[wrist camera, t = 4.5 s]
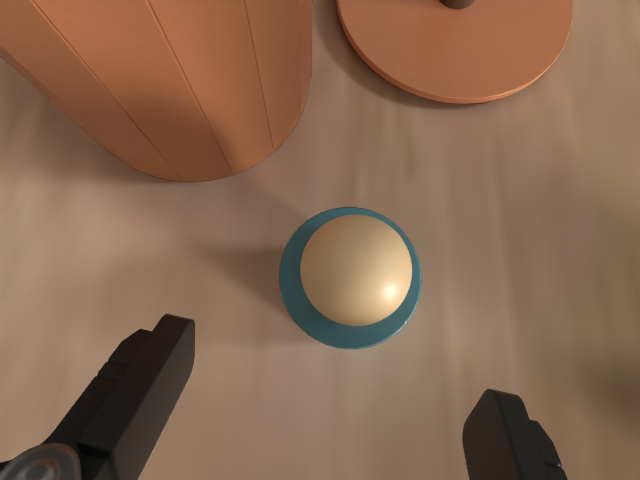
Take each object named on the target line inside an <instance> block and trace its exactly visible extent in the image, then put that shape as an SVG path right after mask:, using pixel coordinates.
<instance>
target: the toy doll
mask: <svg viewBox="0 0 640 480" xmlns="http://www.w3.org/2000/svg"><path fill="white" fill-rule="evenodd" d="M279 283H280V290H281V295H282V298H283V301H284V304H285V306H286V308H287V310H288V312H289V314H290V315H291V317H292V318H293V320H294V321H295V322H296V324H297V325H298V326H299V327H300V328H301V329H302V330H303V331H304V332H306V333H307V334H308V335H309V336H311V337H312V338H314V339H316V340H317V341H319V342H321V343H324V344H326V345H329V346H332V347H335V348H342V349H362V348H368V347H372V346H375V345H377V344H380V343H382V342H384V341H386V340H388V339H389V338H391V337H392V336H394V335H395V334H396V333H397V332H399V331H400V330H401V329H402V328H403V327H404V326H405V324H406V323H407V322H408V320H409V319H410V318H411V316H412V314H413V312H414V310H415V308H416V306H417V303H418V300H419V296H420V292H421V283H422V279H421V268H420V263H419V259H418V256H417V253H416V251H415V249H414V247H413V245H412V243H411V242H410V240H409V238H408V237H407V236H406V234H405V233H404V232H403V231H402V230H401V229H400V228H399V227H398V226H397V225H396V224H395V223H393V222H392V221H391V220H389V219H388V218H386V217H384V216H383V215H381V214H378V213H376V212H374V211H371V210H367V209H363V208H357V207H342V208H335V209H331V210H327V211H324V212H322V213H319V214H318V215H316V216H314V217H312V218H311V219H309V220H308V221H306V222H305V223H304V224H303V225H302V226H300V227H299V228H298V229H297V231H296V232H295V233H294V234H293V236H292V237H291V239H290V240H289V242H288V243H287V246H286V248H285V250H284V252H283V256H282V259H281V263H280V270H279Z"/></svg>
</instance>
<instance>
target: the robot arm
mask: <svg viewBox="0 0 640 480" xmlns="http://www.w3.org/2000/svg"><path fill="white" fill-rule="evenodd" d="M194 357H195V322H194V320H192V319H187V318H183V317H179V316H174V315H170V314H165V315H164V316H163V317H162V318H161V319H160V321H159V322H158V324H157V325H156V327H155V328H154V329H153V331H152V332H151V331H147V330H143V329H139V330H138V331H136V332H135V333H133V334H132V335H131V336H129V337H128V338H126V339H125V340H123V341H122V342H121V343H120V344H119V346H118V347H117V348H116V350H115V351H114V352H113V354H112V355H111V356H110V358H109V360H108V362H106V363H105V364H104V365H103V367H102V368H101V369H100V371H99V372H98V375H97V376H96V377H94V379H93V380H92V381H91V383H90V384H89V385H88V387H87V388H86V389H85V391H84V392H83V393H82V395H81V396H80V397H79V398H78V400H77V401H76V402H75V404H74V405H73V406H72V408H71V409H70V410H69V412H68V413H67V414H66V416H65V417H64V418H63V420H62V421H61V422H60V424H59V425H58V426H57V428H56V429H55V430H54V431H53V433H52V434H51V435H50V436H49V437H48V438H47V439H46V440H45V441H44V442H43V443H41V444H40V445H38V446H35V447H33V448H30V449H28V450H26V451H25V452H23V453H21V454H20V455H18V456H17V457H15V458H14V459H13V460H9V461H6V462H1V463H0V480H138V478H139V476H140V474H141V472H142V470H143V468H144V466H145V464H146V462H147V460H148V458H149V456H150V454H151V452H152V450H153V448H154V446H155V444H156V442H157V440H158V438H159V436H160V434H161V432H162V430H163V428H164V426H165V424H166V422H167V420H168V418H169V416H170V414H171V412H172V410H173V408H174V407H175V405H176V403H177V401H178V399H179V397H180V395H181V393H182V391H183V389H184V387H185V385H186V383H187V381H188V379H189V376H190V374H191V371H192V367H193V363H194ZM462 440H463V448H464V453H465V459H466V464H467V470H468V475H469V480H567V477H566V475H565V472H564V470H563V469H562V468H561V465H562V464H561V462H560V459H559V457H558V454H557V452H556V449H555V447H554V444H553V442H552V441H551V439H550V438H549V436H548V435H547V434H546V432H545V431H544V430H543V428H542V427H541V426H540V424H539V423H538V422H537V421H533V420H529V417H528V414H527V411H526V409H525V406H524V403H523V401H522V399H521V398H520V397H519V396H518V395H514V394H510V393H505V392H501V391H497V390H492V389H487V390H486V391H485V392H484V393H483V395H482V396H481V398H480V400H479V401H478V403H477V404H476V406H475V407H474V409H473V410H472V412H471V413H470V415H469V416H468V418H467V420H466V421H465V424H464V428H463V436H462Z"/></svg>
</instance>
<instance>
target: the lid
mask: <svg viewBox="0 0 640 480" xmlns="http://www.w3.org/2000/svg"><path fill="white" fill-rule="evenodd" d="M336 2H337V10H338V15H339V18H340V21H341V25H342V27H343V29H344V32H345V34H346V36H347V38H348V40H349V41H350V43H351V45H352V46H353V48H354V49H355V51H356V52H357V53H358V54H359V56H360V57H361V58H362V59H363V60H364V62H365V63H366V64H367V65H369V66H370V67H371V68H372V69H373V70H374V71H375V72H376V73H377V74H379V75H380V76H382V77H383V78H384V79H386V80H387V81H389V82H390V83H392V84H394V85H396V86H397V87H399V88H401V89H403V90H405V91H408V92H410V93H412V94H415V95H417V96H420V97H424V98H427V99H431V100H435V101H441V102H447V103H464V104H468V103H481V102H487V101H491V100H496V99H500V98H503V97H505V96H508V95H511V94H514V93H516V92H518V91H519V90H521V89H523V88H525V87H527V86H528V85H530V84H531V83H533V82H534V81H535V80H537V79H538V78H539V77H540V76H541V75H542V74H543V73H544V72H545V71H546V70H547V69H548V68H549V67H550V66H551V65H552V64H553V62H554V61H555V60H556V59H557V57H558V56H559V55H560V53H561V51H562V49H563V47H564V45H565V44H566V41H567V38H568V35H569V33H570V29H571V24H572V18H573V2H572V0H336Z"/></svg>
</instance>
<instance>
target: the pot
mask: <svg viewBox="0 0 640 480" xmlns="http://www.w3.org/2000/svg"><path fill="white" fill-rule="evenodd" d="M312 1H313V0H0V56H1V57H2V58H3V59H4V60H5V61H6V62H8V63H9V64H10V65H11V66H12V67H13V68H14V69H15V70H17V71H18V72H19V73H20V74H21V75H22V76H23V77H25V78H26V79H27V80H28V81H29V82H30V83H31V84H32V85H34V86H35V87H36V88H37V89H38V90H39V91H40V92H42V93H43V94H44V95H45V96H46V97H47V98H48V99H49V100H51V101H52V102H53V103H54V104H55V105H56V106H57V107H59V108H60V109H61V110H62V111H63V112H64V113H65V114H66V115H68V116H69V117H70V118H71V119H72V120H73V121H74V122H75V123H77V124H78V125H79V126H80V127H81V128H82V129H83V130H85V131H86V132H87V133H88V134H89V135H90V136H91V137H92V138H94V139H95V140H96V141H97V142H98V143H99V144H101V145H102V146H103V147H105V148H106V149H108V150H109V151H110V152H112V153H113V154H115V155H116V156H117V157H118V158H119V159H121V160H122V161H123V162H125V163H127V164H128V165H130V166H131V167H133V168H134V169H137V170H140V171H142V172H144V173H146V174H149V175H152V176H156V177H159V178H163V179H168V180H175V181H191V182H195V181H207V180H213V179H218V178H223V177H227V176H230V175H233V174H235V173H238V172H241V171H243V170H245V169H247V168H249V167H251V166H253V165H255V164H257V163H258V162H260V161H261V160H263V159H264V158H266V157H267V156H268V155H270V154H271V153H272V152H273V151H274V150H276V149H277V148H278V147H279V146H280V145H281V144H282V143H283V141H284V140H285V139H286V138H287V137H288V136H289V134H290V133H291V131H292V130H293V129H294V127H295V126H296V124H297V122H298V120H299V118H300V116H301V114H302V112H303V109H304V106H305V103H306V100H307V95H308V89H309V83H310V79H311V68H312Z"/></svg>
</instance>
